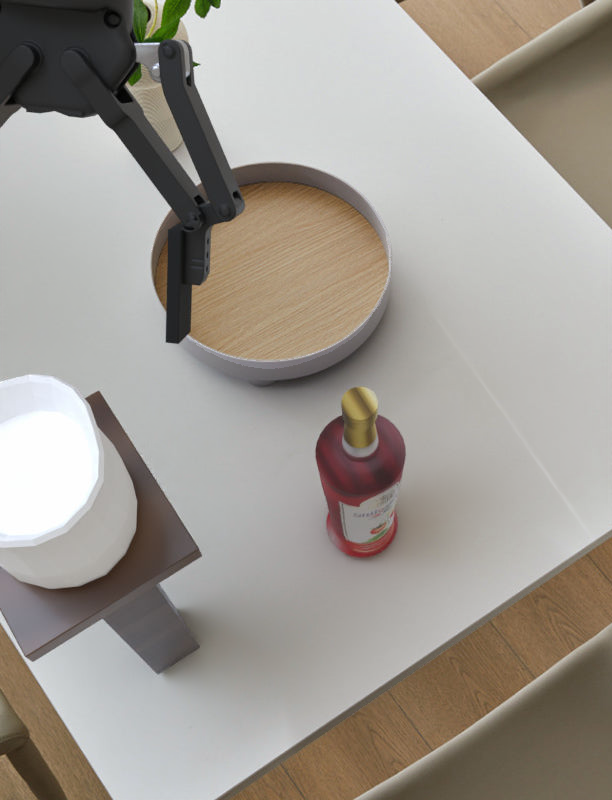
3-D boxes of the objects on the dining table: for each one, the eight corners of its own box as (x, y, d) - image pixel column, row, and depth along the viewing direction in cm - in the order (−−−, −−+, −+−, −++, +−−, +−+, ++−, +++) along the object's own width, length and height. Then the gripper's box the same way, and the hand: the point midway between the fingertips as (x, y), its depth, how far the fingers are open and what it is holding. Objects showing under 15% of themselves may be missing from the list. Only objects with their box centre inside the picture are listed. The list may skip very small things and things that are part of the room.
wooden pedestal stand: (78, 618, 95) (-69, 483, 63) (186, 551, 98) (98, 389, 66) (146, 738, 90) (25, 657, 59) (257, 664, 93) (199, 548, 62)
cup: (60, 414, 65) (12, 341, 56) (180, 500, 63) (149, 437, 54) (-49, 530, 62) (-119, 471, 53) (74, 625, 59) (23, 580, 51)
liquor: (375, 479, 101) (377, 342, 76) (413, 540, 99) (428, 419, 73) (311, 514, 100) (291, 386, 74) (348, 577, 97) (340, 467, 72)
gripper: (308, -41, 56) (285, 331, 63) (-136, -87, 56) (-111, 286, 63) (285, -54, 49) (262, 366, 56) (-223, -106, 49) (-183, 316, 56)
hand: (63, 324), depth 60 cm, fingers open, 13 cm apart
